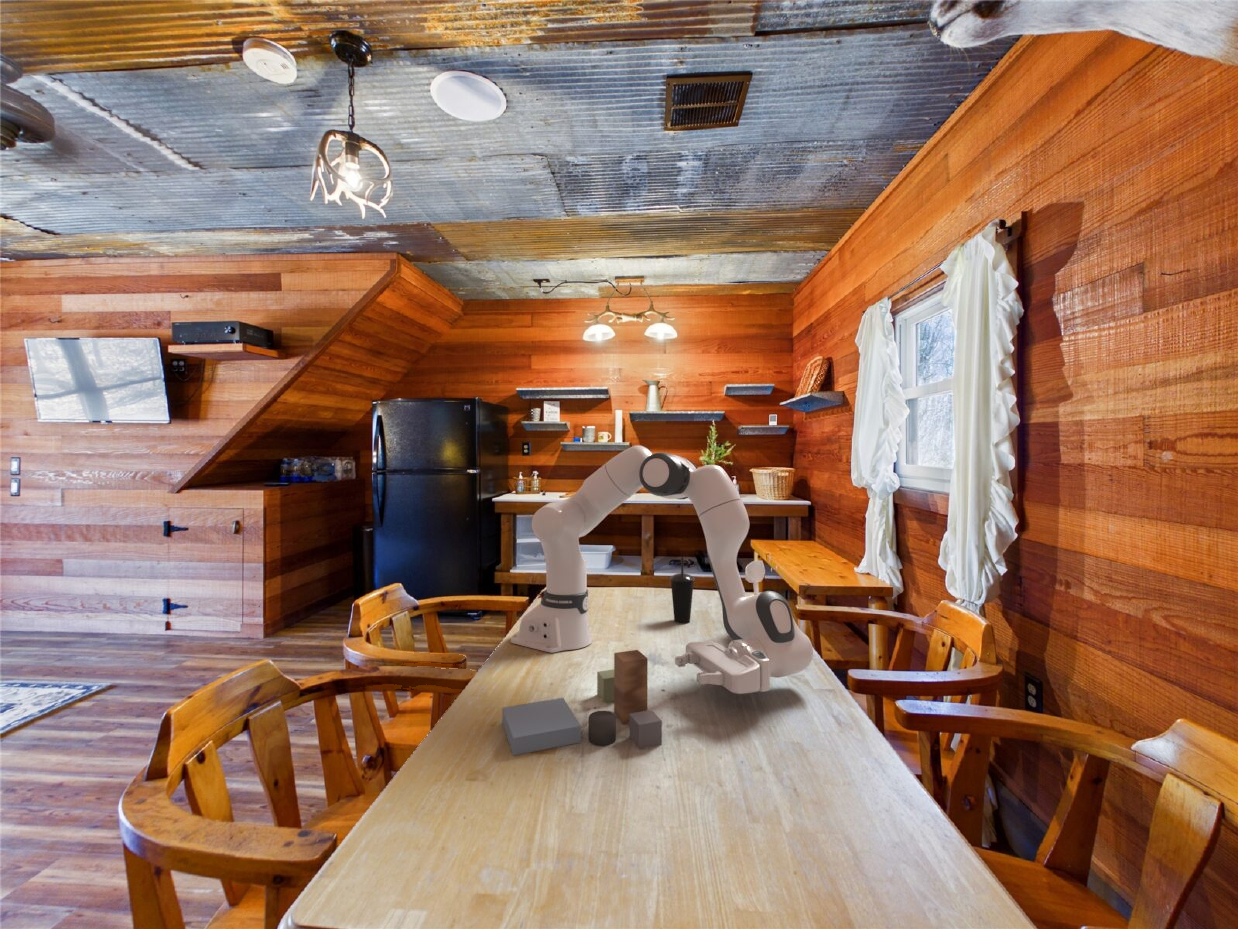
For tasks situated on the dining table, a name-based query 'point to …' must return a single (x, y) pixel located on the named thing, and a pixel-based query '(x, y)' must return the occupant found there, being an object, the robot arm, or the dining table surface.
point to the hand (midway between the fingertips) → (686, 670)
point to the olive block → (605, 685)
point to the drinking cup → (682, 595)
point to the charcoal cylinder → (602, 728)
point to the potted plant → (755, 574)
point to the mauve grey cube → (645, 729)
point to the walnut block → (630, 684)
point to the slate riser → (540, 726)
